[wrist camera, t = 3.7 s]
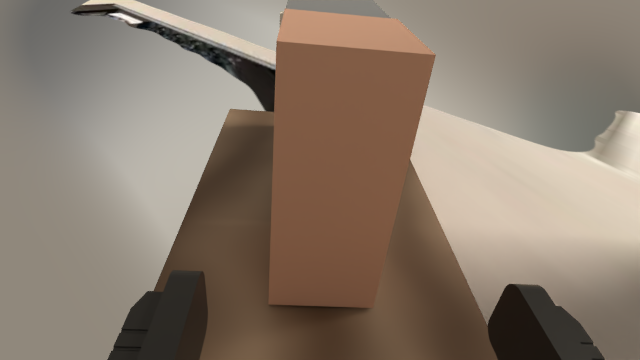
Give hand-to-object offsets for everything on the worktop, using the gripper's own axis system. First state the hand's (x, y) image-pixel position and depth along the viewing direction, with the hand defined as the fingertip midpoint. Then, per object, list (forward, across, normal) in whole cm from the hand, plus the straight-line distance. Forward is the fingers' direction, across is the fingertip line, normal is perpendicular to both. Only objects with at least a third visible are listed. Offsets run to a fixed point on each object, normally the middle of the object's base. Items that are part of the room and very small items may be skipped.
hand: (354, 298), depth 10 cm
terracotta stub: (+8, 0, +7) cm, 11 cm away
